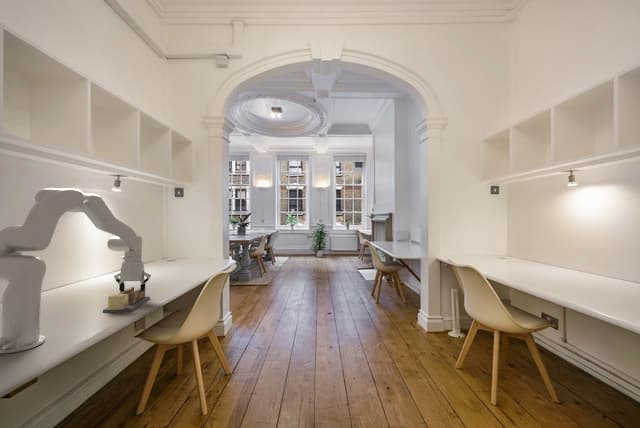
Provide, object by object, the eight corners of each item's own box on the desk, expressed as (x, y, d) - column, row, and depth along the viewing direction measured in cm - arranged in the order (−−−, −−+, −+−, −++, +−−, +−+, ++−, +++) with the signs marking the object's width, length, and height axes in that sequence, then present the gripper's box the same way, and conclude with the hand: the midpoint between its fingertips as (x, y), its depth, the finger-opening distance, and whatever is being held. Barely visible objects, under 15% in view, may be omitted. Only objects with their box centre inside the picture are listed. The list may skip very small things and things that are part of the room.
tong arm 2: (132, 304, 143) (132, 294, 143) (128, 304, 143) (129, 294, 143) (145, 295, 158) (145, 286, 158) (141, 295, 157) (142, 286, 157)
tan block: (123, 309, 135) (124, 296, 135) (107, 309, 134) (108, 296, 134) (127, 306, 139) (128, 293, 139) (112, 307, 138) (112, 294, 138)
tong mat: (130, 311, 136) (130, 309, 136) (102, 312, 134) (102, 310, 134) (149, 298, 158) (149, 296, 158) (125, 299, 156) (125, 296, 156)
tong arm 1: (119, 304, 142) (120, 294, 142) (116, 304, 142) (116, 294, 142) (133, 296, 157) (134, 287, 157) (130, 296, 156) (131, 287, 156)
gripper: (111, 260, 145) (110, 293, 145) (148, 260, 148) (147, 292, 148) (118, 257, 152) (117, 289, 152) (153, 257, 155) (153, 289, 155)
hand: (132, 291), depth 150 cm, fingers open, 9 cm apart
